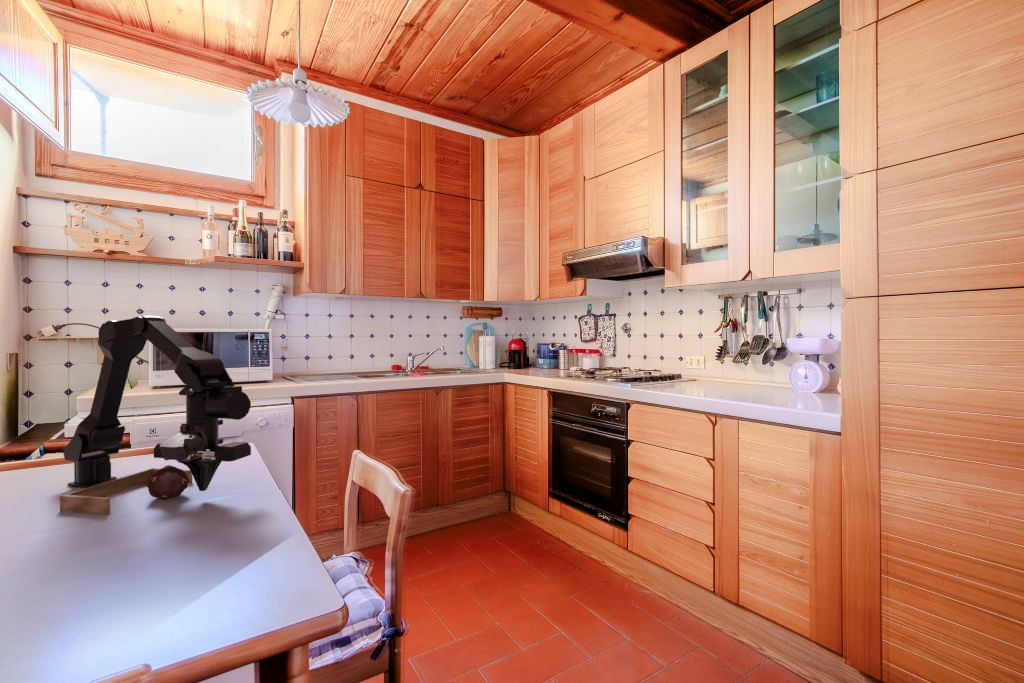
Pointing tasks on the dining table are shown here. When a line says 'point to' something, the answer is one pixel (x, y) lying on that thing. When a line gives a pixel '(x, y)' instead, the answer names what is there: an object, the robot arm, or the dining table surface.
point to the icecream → (167, 482)
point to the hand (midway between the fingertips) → (203, 490)
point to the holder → (105, 493)
